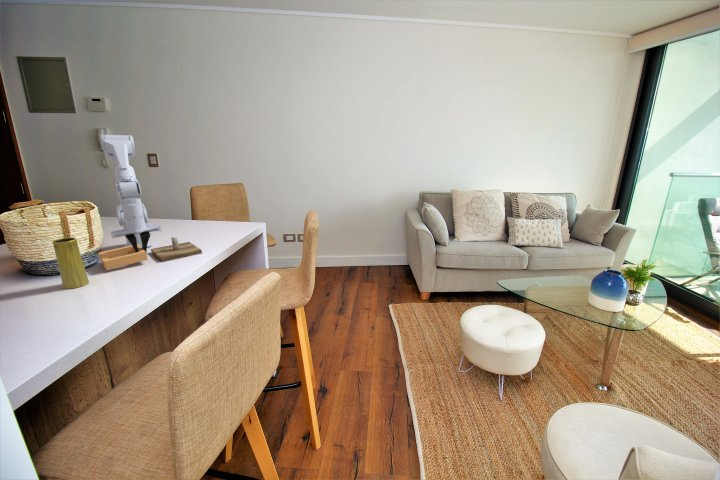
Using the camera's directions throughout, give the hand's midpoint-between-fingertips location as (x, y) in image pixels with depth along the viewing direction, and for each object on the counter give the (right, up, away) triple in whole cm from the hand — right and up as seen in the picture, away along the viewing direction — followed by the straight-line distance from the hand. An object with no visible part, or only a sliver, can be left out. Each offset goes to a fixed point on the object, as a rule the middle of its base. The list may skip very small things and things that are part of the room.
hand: (141, 253), depth 115 cm
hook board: (+7, 0, +10) cm, 12 cm away
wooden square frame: (-5, -2, -1) cm, 6 cm away
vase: (-7, -9, -18) cm, 22 cm away
